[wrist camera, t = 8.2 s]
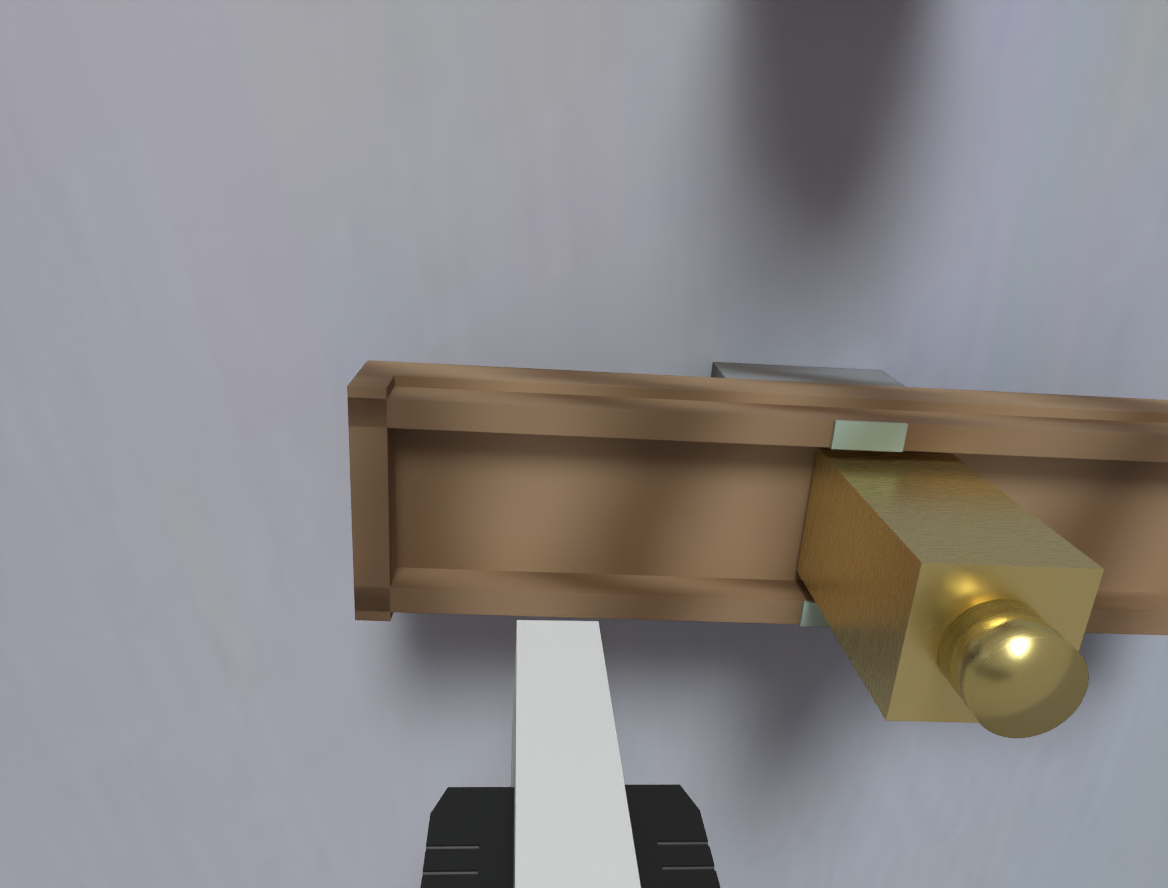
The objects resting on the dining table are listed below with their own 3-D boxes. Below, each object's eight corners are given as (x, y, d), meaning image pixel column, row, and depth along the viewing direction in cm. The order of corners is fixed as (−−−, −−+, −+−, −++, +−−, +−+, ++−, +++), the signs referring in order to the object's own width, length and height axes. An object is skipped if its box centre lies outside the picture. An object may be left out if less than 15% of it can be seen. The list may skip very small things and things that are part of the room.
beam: (394, 523, 30) (354, 626, 24) (391, 331, 28) (346, 387, 21) (1127, 550, 32) (1272, 652, 26) (1183, 372, 30) (1360, 435, 23)
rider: (796, 570, 25) (914, 767, 17) (817, 447, 24) (955, 600, 16) (923, 574, 26) (1097, 770, 18) (951, 453, 24) (1152, 606, 16)
